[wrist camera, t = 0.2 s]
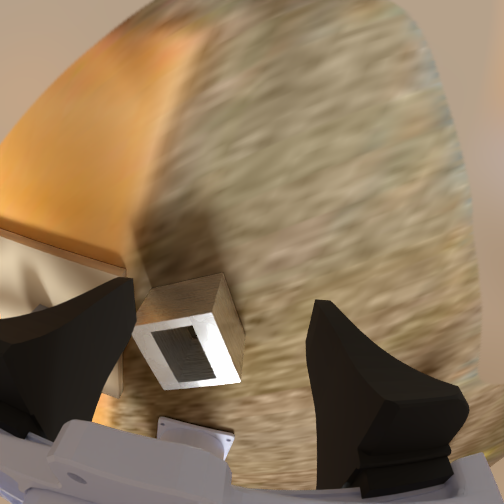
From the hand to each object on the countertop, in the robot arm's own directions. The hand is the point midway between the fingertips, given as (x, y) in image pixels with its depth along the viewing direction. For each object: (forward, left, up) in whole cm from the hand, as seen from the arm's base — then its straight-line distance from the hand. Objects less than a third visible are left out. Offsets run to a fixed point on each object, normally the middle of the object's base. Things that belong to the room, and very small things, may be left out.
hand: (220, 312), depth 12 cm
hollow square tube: (-7, +1, -9) cm, 12 cm away
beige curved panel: (-12, +14, -9) cm, 21 cm away
